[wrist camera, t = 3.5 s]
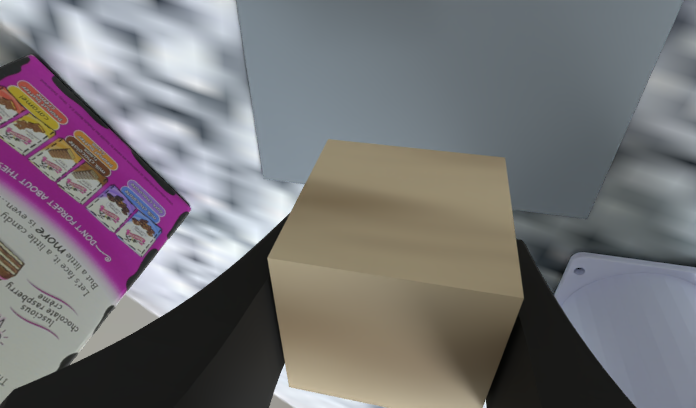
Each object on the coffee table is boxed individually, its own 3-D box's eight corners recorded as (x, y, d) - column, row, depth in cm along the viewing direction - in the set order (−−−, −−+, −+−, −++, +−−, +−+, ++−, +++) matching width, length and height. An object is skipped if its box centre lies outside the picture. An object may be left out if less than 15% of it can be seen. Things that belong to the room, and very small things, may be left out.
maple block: (473, 281, 13) (475, 425, 10) (332, 259, 14) (289, 387, 11) (505, 157, 11) (524, 298, 7) (328, 138, 11) (266, 257, 8)
